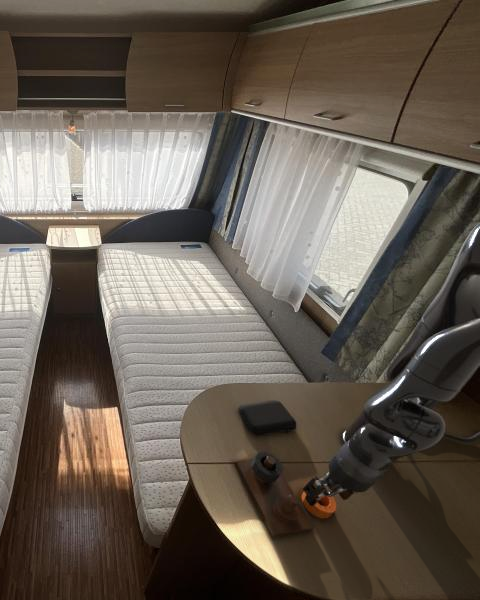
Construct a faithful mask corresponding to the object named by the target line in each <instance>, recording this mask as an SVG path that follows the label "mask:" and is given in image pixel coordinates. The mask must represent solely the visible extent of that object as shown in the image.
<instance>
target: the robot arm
mask: <svg viewBox="0 0 480 600" xmlns="http://www.w3.org/2000/svg"><path fill="white" fill-rule="evenodd" d="M479 368H480V221H479V222H478V223H476V224H475V226H474V227H473V229H472V230H471V231H470V232H469V233H468V235H467V237H466V238H465V240H464V242H463V243H462V246H461V247H460V250H459V251H458V253H457V255H456V256H455V260H454V262H453V264H452V266H451V268H450V270H449V272H448V274H447V277H446V279H445V280H444V282H443V284H442V286H441V288H440V289H439V291H438V292H437V294H436V296H434V298H433V300H432V301H431V302H430V304H429V305H428V307H427V308H426V310H425V311H424V313H423V314H422V315H421V318H419V321H418V323H417V325H416V326H415V328H414V331H413V332H412V334H411V336H410V337H409V340H408V341H407V343H406V344H405V346H404V347H402V349H401V350H400V351H399V353H398V354H397V355H396V357H395V358H394V359H393V361H392V362H391V363H390V364H389V366H388V367H387V370H386V379H387V380H388V383H387V384H385V385H384V386H382V387H381V388H379V389H378V390H377V391H375V392H374V393H372V394H371V395H370V396H369V397H368V398H367V399H366V400H365V402H364V404H363V406H362V411H361V412H360V413H359V414H358V416H357V417H356V418H355V420H354V421H353V422H352V423H351V424H350V425H349V426H348V428H347V429H346V430H345V431H344V432H343V433H342V435H341V439H342V444H343V445H341V447H340V448H339V449H338V451H337V452H336V453H335V454H334V455H333V456H332V457H331V458H330V460H329V462H328V472H327V473H326V474H325V476H323V477H321V478H319V477H318V476H313V477H312V478H311V479H310V480H309V481H308V482H307V483H306V484H305V485H304V487H303V488H302V490H303V492H305V493H306V496H305V499H306V500H307V502H308V504H310V506H314V505H315V504H316V503H319V501H320V499H322V498H324V497H332V496H333V497H334V496H336V495H339V496H340V498H341V500H343V501H346V500H349V498H350V497H351V496H352V495H353V494H358V493H364V492H367V491H368V490H369V489H371V487H372V486H373V485H375V484H376V483H377V482H378V481H379V480H380V479H381V478H382V477H383V476H385V474H386V473H387V471H388V469H389V468H390V467H391V466H392V465H394V464H395V463H396V462H397V461H398V460H399V459H401V458H404V457H407V456H410V455H413V454H416V453H420V452H423V451H426V450H428V449H430V448H432V447H434V446H435V445H437V444H439V442H440V441H441V440H442V439H443V438H444V437H448V438H451V439H454V440H458V441H462V442H474V441H476V440H478V439H479V438H480V431H478V432H476V433H475V434H474V435H473V436H470V437H462V436H457V435H454V434H451V433H448V432H446V431H447V425H446V421H445V419H444V418H443V416H442V415H441V414H440V413H439V412H437V411H435V410H433V408H435V407H436V406H438V404H440V403H449V402H451V401H452V400H453V399H455V398H456V396H457V395H458V394H459V393H460V392H461V390H463V388H464V387H465V386H466V384H467V383H468V382H469V381H470V380H471V378H472V377H473V376H474V374H475V373H476V372H477V371H478V370H479ZM326 487H327V488H328V489H329V490H330V491H328V489H327V488H326ZM321 492H322V494H320V493H321ZM319 494H320V495H319Z"/></svg>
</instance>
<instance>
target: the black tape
mask: <svg viewBox="0 0 480 600" xmlns="http://www.w3.org/2000/svg"><path fill="white" fill-rule="evenodd" d="M268 456H271V457H273V458H274V459H275V464H274V465H273V467H272V468H271V469H272V471H269V470H267V469H265V468H264V467H263V466H262V464H261V463H262V462H263V463H264V461H265V459H266V458H267V457H268ZM252 459H253V461H252V470H253V471H254V473H255V474H256V476H258V477H259V478H260V479H261V480H263V481H266V482H275V481H276V480H277V479H278V477H279V476H280V475H281V473H282V474H283V472H284V471H283V465H282V463H281V461H280V459H279V458H278V457H277V456H275V455H274V454H272V453H270V452H267V451H259V452H258V453H256V454H255V455H254V457H253V458H252Z"/></svg>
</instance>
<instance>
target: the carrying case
mask: <svg viewBox="0 0 480 600" xmlns="http://www.w3.org/2000/svg"><path fill="white" fill-rule="evenodd" d="M237 413H238V414H239V416H240V417H241V419H242V421H243V422H244V423H245V425H246V427H247V429H248V430H249V431H250V432H251V433H252V434H254V435H259V436H262V435H268V434H274V433H280V432H281V433H282V432H285V431H286V434H290V433H292V432H293V431H295V430H296V429H297V421H296V419H295V418H294V417H293V416H292V415H291V413H290V412H289V410H288V409H287V408H286V407H285V406H284V404H283V403H282V402H281V401H279V400H275V399H273V400H266V401H260V402H255V403H248V404H247V403H246V404H243V405H240V406H238V407H237Z"/></svg>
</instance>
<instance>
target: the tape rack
mask: <svg viewBox="0 0 480 600" xmlns="http://www.w3.org/2000/svg"><path fill="white" fill-rule="evenodd" d="M253 459H254V458H249V459H241V460H236V461H235V463H234V466H235V468H236V470H237V472H238V473H239V476H240V477H241V480H242V482H243V483H244V485H245V488H246V489H247V491H248V493H249V495H250V498H251V499H252V501H253V503H254V505H255V507H256V509H257V511H258V513H259V514H260V517H261V518H262V520H263V522H264V524H265V526H266V528H267V530H268V532H269V534H270V535H271V538H275V537H281V536H286V535H292V534H298V533H299V534H300V533H306V532H309V531H313V530H314V529H315V528H316V527H315V525H314V524H313V522H312V521H311V519H310V518H309V515H308V514H307V512H306V511H305V508H303V506H302V504H301V503H300V502H301V501H300V498H299V496H297V495H296V494H295V493H294V491H293V490H292V488H291V486H290V485H289V483H288V481H287V480H286V478H285V477H284V474H283V472H282V473H281V475H280V476H279V477H278V479H277V480H276V481H275V482H266V481H263V480H261V479H260V478H259V477H258V476H256V474H255V473H254V471H253V470H252V461H253ZM261 464H262V466H263V467H264V468H265V469H267V470H269V471H272V469H271V468H272V467H273V465H274V464H275V459H274V458H273V457H271V456H268V457H267V458H266V459H265V461H264V463H263V462H262V463H261Z"/></svg>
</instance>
